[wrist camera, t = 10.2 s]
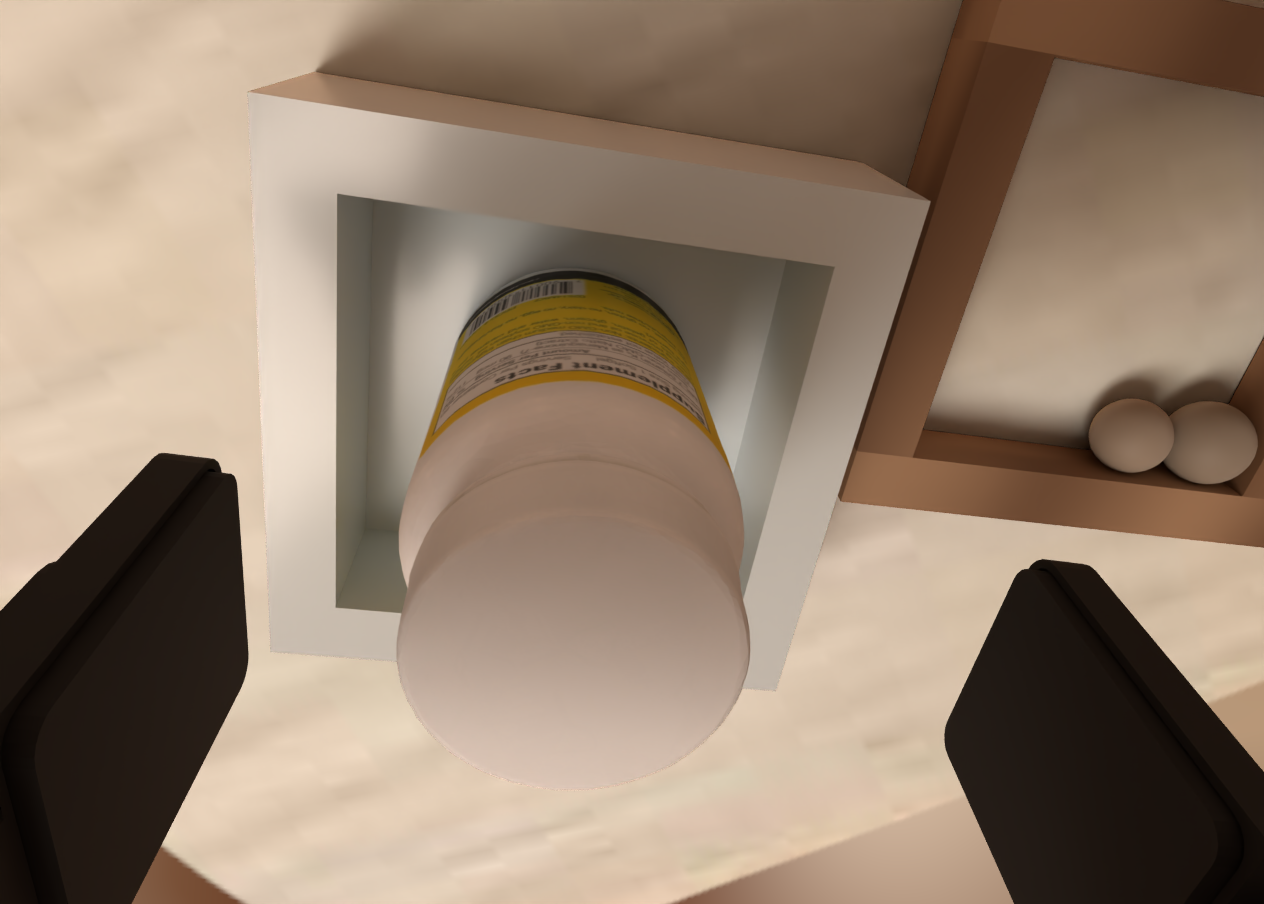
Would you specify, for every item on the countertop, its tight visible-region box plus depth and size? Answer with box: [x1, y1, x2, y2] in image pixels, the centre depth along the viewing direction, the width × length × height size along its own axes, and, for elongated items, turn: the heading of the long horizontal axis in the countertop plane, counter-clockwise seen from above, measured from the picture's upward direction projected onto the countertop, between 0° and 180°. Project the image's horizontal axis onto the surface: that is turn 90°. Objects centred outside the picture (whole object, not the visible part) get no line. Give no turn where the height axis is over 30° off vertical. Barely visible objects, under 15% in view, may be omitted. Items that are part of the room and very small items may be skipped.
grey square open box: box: [247, 72, 931, 691], centre depth 16 cm, size 10×10×4 cm
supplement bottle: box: [396, 268, 750, 790], centre depth 13 cm, size 5×5×8 cm
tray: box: [838, 0, 1264, 548], centre depth 17 cm, size 10×10×2 cm
